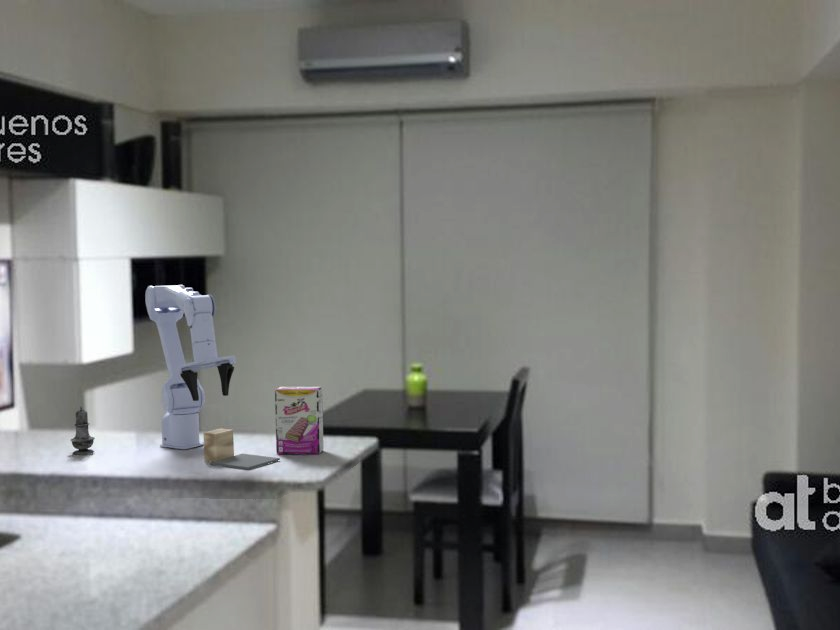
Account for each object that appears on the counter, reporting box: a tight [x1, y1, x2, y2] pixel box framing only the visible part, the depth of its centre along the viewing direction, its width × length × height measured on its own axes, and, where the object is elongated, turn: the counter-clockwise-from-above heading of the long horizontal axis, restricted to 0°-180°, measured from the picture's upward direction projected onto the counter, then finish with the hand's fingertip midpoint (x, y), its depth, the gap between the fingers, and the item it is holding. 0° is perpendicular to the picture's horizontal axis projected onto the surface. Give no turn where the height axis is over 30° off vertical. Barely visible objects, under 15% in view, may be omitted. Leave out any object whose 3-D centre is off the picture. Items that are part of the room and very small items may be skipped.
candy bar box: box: [274, 386, 324, 455], centre depth 235 cm, size 11×5×16 cm, turn 84°
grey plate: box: [209, 453, 281, 471], centre depth 225 cm, size 12×11×1 cm
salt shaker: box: [70, 406, 95, 456], centre depth 242 cm, size 6×6×12 cm
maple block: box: [203, 427, 235, 463], centre depth 230 cm, size 4×6×7 cm, turn 147°
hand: (210, 398), depth 230 cm, fingers open, 7 cm apart
